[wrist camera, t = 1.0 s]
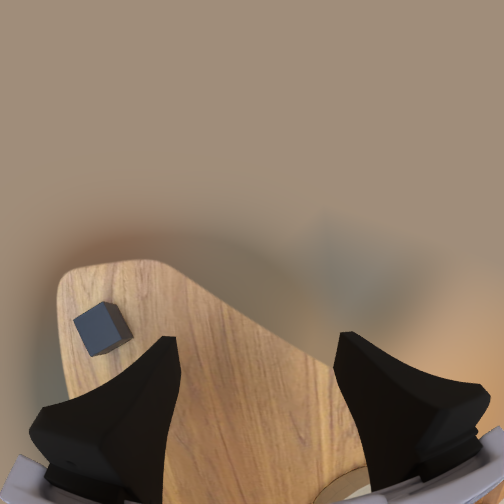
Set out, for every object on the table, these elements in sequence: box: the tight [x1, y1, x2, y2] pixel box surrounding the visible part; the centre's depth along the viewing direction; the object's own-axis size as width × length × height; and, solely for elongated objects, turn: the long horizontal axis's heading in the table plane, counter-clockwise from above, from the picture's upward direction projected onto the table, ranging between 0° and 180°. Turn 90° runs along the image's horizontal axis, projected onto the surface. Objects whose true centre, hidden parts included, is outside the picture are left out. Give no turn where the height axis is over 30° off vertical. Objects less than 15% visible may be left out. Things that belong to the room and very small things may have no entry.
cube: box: [73, 301, 134, 357], centre depth 22 cm, size 4×4×4 cm
